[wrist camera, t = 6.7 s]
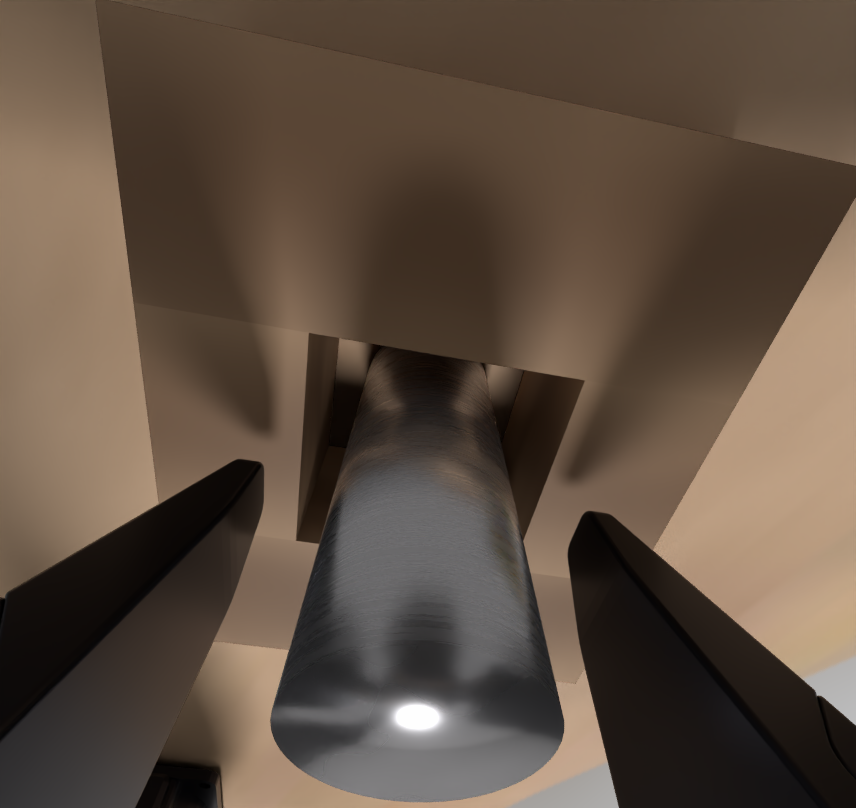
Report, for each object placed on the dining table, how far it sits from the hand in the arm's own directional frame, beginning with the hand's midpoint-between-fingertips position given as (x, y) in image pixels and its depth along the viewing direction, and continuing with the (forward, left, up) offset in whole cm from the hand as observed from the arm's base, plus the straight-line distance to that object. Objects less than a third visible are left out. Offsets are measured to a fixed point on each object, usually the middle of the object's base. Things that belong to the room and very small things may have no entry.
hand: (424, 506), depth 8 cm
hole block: (0, 0, -4) cm, 4 cm away
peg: (0, 0, -4) cm, 4 cm away
